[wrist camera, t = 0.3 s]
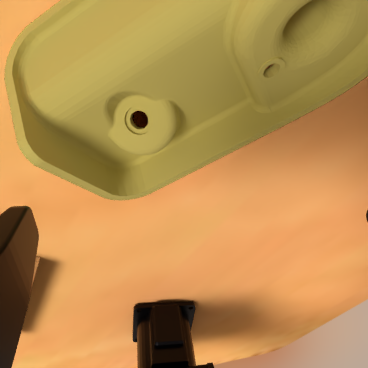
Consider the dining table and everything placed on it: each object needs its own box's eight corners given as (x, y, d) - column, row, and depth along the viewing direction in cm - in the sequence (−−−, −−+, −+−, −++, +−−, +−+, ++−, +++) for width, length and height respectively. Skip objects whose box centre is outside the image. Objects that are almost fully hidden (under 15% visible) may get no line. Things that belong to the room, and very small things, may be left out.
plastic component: (123, 207, 24) (-1, 149, 15) (106, 129, 27) (-2, 47, 19) (409, 61, 18) (460, -149, 10) (343, -12, 22) (340, -214, 13)
